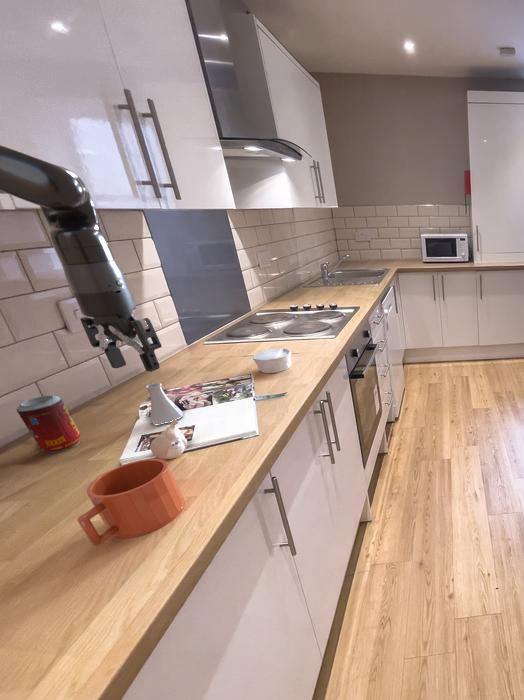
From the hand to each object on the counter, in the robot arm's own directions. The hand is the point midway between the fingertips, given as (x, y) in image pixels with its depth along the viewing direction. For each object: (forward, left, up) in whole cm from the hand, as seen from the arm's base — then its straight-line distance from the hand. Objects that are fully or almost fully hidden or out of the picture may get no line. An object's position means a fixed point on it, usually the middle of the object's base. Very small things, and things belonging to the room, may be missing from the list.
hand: (136, 368), depth 82 cm
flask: (-19, +17, -23) cm, 34 cm away
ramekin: (-12, +52, -23) cm, 58 cm away
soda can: (-33, +3, -23) cm, 40 cm away
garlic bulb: (-3, +2, -23) cm, 23 cm away
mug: (+9, -18, -22) cm, 30 cm away
